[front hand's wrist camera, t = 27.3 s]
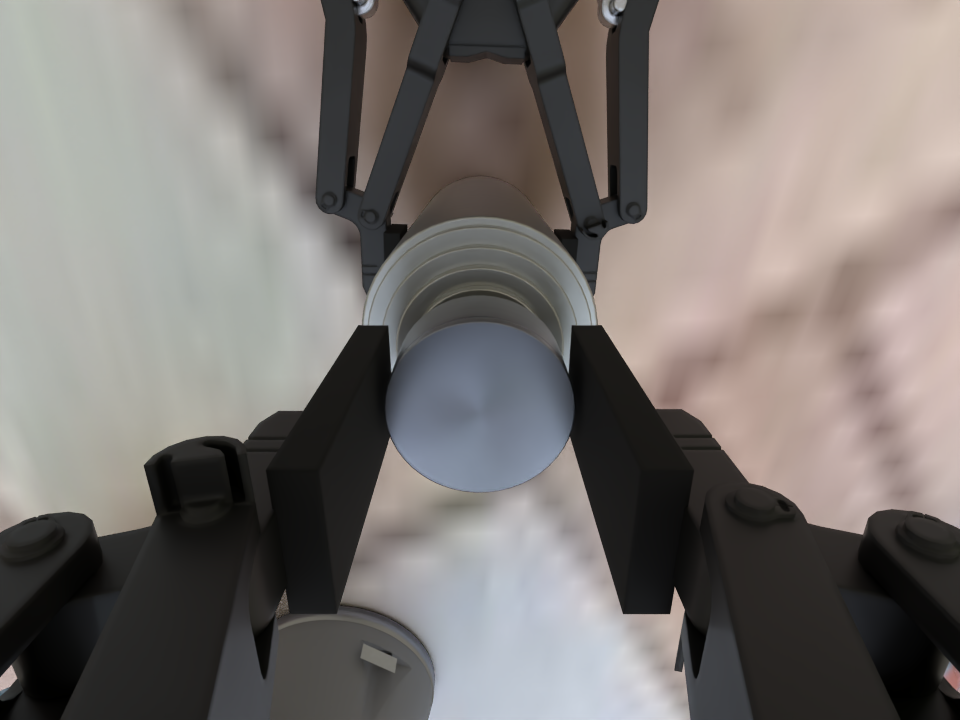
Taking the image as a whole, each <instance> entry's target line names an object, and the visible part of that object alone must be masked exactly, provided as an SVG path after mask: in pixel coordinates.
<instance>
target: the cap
mask: <svg viewBox="0 0 960 720" xmlns="http://www.w3.org/2000/svg"><path fill="white" fill-rule="evenodd" d="M575 409H576V403H575V393H574V389H573V385H572V381H571V379H570V376H569V373H568V371H567V368H566V365H565V363H564V360H563V357H562V355H561V352H560V349H559V347H558V344H557V342H556V340H555V338H554V336H553V335H552V333H551V331H550V330H549V329H548V327H547V326H546V325H545V324H544V322H543V321H541V320H540V319H539V318H538V317H537V316H536V315H535V314H534V313H532V312H531V311H529V310H528V309H527V308H525V307H523V306H521V305H519V304H517V303H515V302H512V301H510V300H507V299H503V298H499V297H494V296H485V295H479V296H466V297H460V298H457V299H453V300H450V301H447V302H445V303H443V304H440V305H439V306H437V307H435V308H433V309H432V310H430V311H429V312H427V313H426V314H425V315H424V316H422V317H421V318H420V319H419V320H418V321H417V322H416V323H415V324H414V326H413V327H412V328H411V330H410V331H409V332H408V334H407V336H406V338H405V339H404V341H403V343H402V346H401V349H400V351H399V354H398V357H397V360H396V362H395V365H394V368H393V370H392V373H391V376H390V378H389V381H388V384H387V388H386V392H385V399H384V413H385V421H386V425H387V429H388V432H389V435H390V437H391V440H392V442H393V443H394V445H395V447H396V449H397V450H398V452H399V453H400V454H401V456H402V457H403V458H404V460H405V461H406V462H407V463H408V464H409V465H410V466H411V467H412V468H414V469H415V470H416V471H417V472H419V473H420V474H421V475H423V476H424V477H426V478H428V479H429V480H431V481H433V482H435V483H438V484H440V485H442V486H445V487H448V488H451V489H455V490H460V491H466V492H493V491H500V490H504V489H509V488H512V487H515V486H517V485H520V484H522V483H524V482H526V481H528V480H530V479H532V478H534V477H535V476H537V475H538V474H540V473H541V472H542V471H544V470H545V469H546V468H547V467H548V466H550V465H551V463H552V462H553V461H554V460H555V459H556V458H557V457H558V455H559V454H560V453H561V451H562V450H563V448H564V447H565V445H566V443H567V441H568V439H569V437H570V434H571V431H572V428H573V424H574V419H575Z"/></svg>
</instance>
